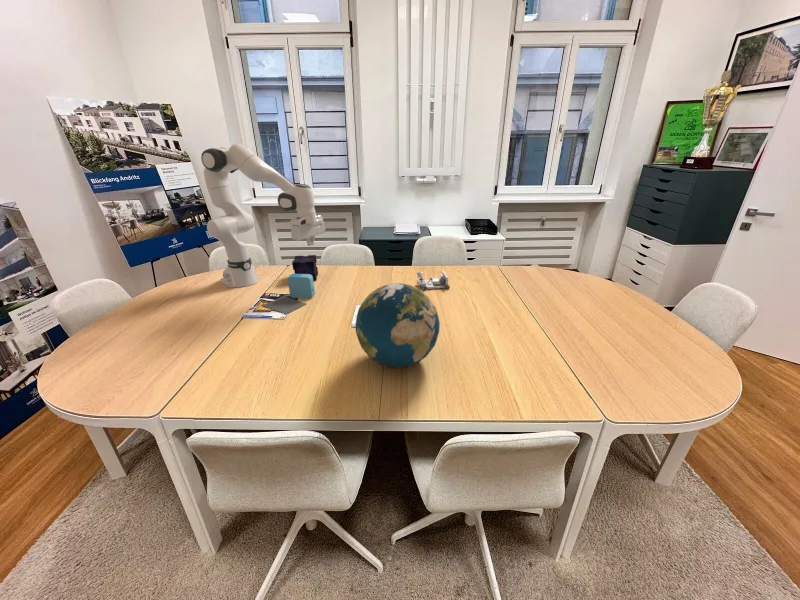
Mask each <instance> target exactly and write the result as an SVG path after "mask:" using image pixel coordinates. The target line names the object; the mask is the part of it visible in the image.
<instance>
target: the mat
mask: <svg viewBox="0 0 800 600" xmlns="http://www.w3.org/2000/svg"><path fill="white" fill-rule="evenodd" d="M306 305H307V303H306V302H303V301H300V300H297V299H295V298H292V297H288V296H285V295H283V296H280V297H279V298H276V299H275V300H272V301H270V302H268V303H265V304H264V305H262V307H264V308H266V307H267V308H266V309H269V308H270V310H272V309H273V310H272V311H275V310H276V312H277V313H280V312H281V314H283V313H284V314H283V315H288V314H290V313H292V312H295V311H296V310H298V309H300V308H302V307H305V306H306Z"/></svg>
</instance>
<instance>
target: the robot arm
mask: <svg viewBox="0 0 800 600" xmlns="http://www.w3.org/2000/svg"><path fill="white" fill-rule="evenodd" d="M200 158H201V163H202V165H203V178H204V182H205V187H206V189H207V192H208V195H209V197H210V201H211V203H212V205H213V206H214V207H216V208H217V209H221V210H222V211H223V212H224V213H225V215H220V216H217V217H214V218H212V219H210V220H208V222H207V224H206V230H207V232H208V234H209V235H210V236H211V237H213V238H214V239H216V240H218V241H219V242H220V243H221V244H222V245H223V247H224V249H225V253H226V256H227V260H226V263H227V267H225V269H224V270H223V271H222V276H223V277H221V278H220V279H219V282H221V284H223V285H225V286H226V287H228V288H231V289H232V288H233V289H234V288H241V287H242V288H243V287H248V286H251V285H254V284H256V283H257V282H258V279H259V275H258V274H257V272H256V268H255V266H254V264H253V262H252V259H251V256H250V253H249V248H248V245H247V244H246V243H245V242H244V241H241V240H239V239H238V237H237V235H240V234H243V233H246V232H248V231H250V230H252V229H253V228H255V227H254V226H255V220H254V217H253V216H252V214H250V213H249V212H247V211H246V210H244V209H242V207H241V206H240V205H239V203H238V202H237V200H236V198H235V195H234V193H233V190H232V186H231V184H230V181H229V178H228V176H229V174H233V173H235V172H236V171H240V172H241V173H242V174H243V175H244V176H245V177H247V178H248V179H249V180H250V181H253V182H257V183H258V182H259V183H266V184H267V183H268V184H272V185H275V186H276V187H277V188H279V189H280V191H282V192H281V193H280V194H278V197H277V204H278V207H279V208H280V209H281V210H282V211H283V212H287V213H288V212H293V211H295V212H296V213H297V215H295V217H293V218H292V219H290V221H289V222H290V225H291V226H290V233H291V235H290V236H291V238H292V240H293V241H296V242H299V241H302V240H303V241H304V240H305V242H306V243H307V246H309V247H310V246H314V245H315V240H316V236H317V235H318V236H319V235H321V234H324V233H325V232H326V225H325V222H324V217H323V216H322V215H320V214H319V215H317V213H316V208H315V197H314V192H313V190H312V187H311V186H310V185H308V184H305V183H297V184H294V183H293V182H292V181H290V180H289V178H287V177H286V176H284V174H282V173H281V172H279V171H278V170H277V169H274V167H272V166H270V165H269V164H268V163H266V162H265V161H263V160H262V159H261V158H260V157H259V156H258V155H257V154H256V153H255V152H254V151H252V150H251V149H249V148H248V147H247V146H245V145H244V144H242V143H235V144H233V145H231V146H230V147H222V146H221V147H216V148H214V147H213V148H212V147H210V148H208V149H204V150H203V151H202V153H201V157H200Z"/></svg>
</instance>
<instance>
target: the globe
mask: <svg viewBox="0 0 800 600" xmlns="http://www.w3.org/2000/svg"><path fill="white" fill-rule="evenodd" d="M440 328H441V327H440V319H439V315H438V311H437V308H436V306H435V304H434V302H433V301H432V300H431V298H430V297H429V296H428V295H427V294H426V292H425V291H423V290H422V289H419V288H418V287H415V286H413V285H410V284H406V283H399V282H398V283H394V282H393V283H390V284H385V285H382V286H380V287H378V288H375V289H374V290H373V291H372V292H370V293H369V294H368V295H367V296H366V297H365V298H364V300H363V301H362V303H361V304H360V306H359V308H358V311H357V315H356V318H355V333H356V337H357V339H358V344H359V345H360V348H361V349H362V350H363V351H364V353H365V354H366V355H367V356H368V357H369V358H370V359H372V360H373V361H374V362H375V363H377V364H379V365H383V366H385V367H388V368H393V369H395V368H397V369H398V368H401V369H402V368H406V367H407V368H408V367H410V366H413V365H415V364H418V363H419V362H422V360H424V359H425V358H426V357H427V356H428V355H429V354H430V353H431V351H432V350H433V349H434V347H435V346H436V344H437V340H438V338H439V333H440Z"/></svg>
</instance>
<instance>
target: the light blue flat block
mask: <svg viewBox="0 0 800 600" xmlns="http://www.w3.org/2000/svg"><path fill="white" fill-rule="evenodd" d="M314 282H315V281H313V276H312V275H310V274H295V273H292V274H290V275H289V276H288V277H287V285H288V290H289V296H290V298H291V299H305V300H306V299H309V300H311V299H312V298H313V297H314V296H315V294H316V292H315V291H316V290H315V283H314Z"/></svg>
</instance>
